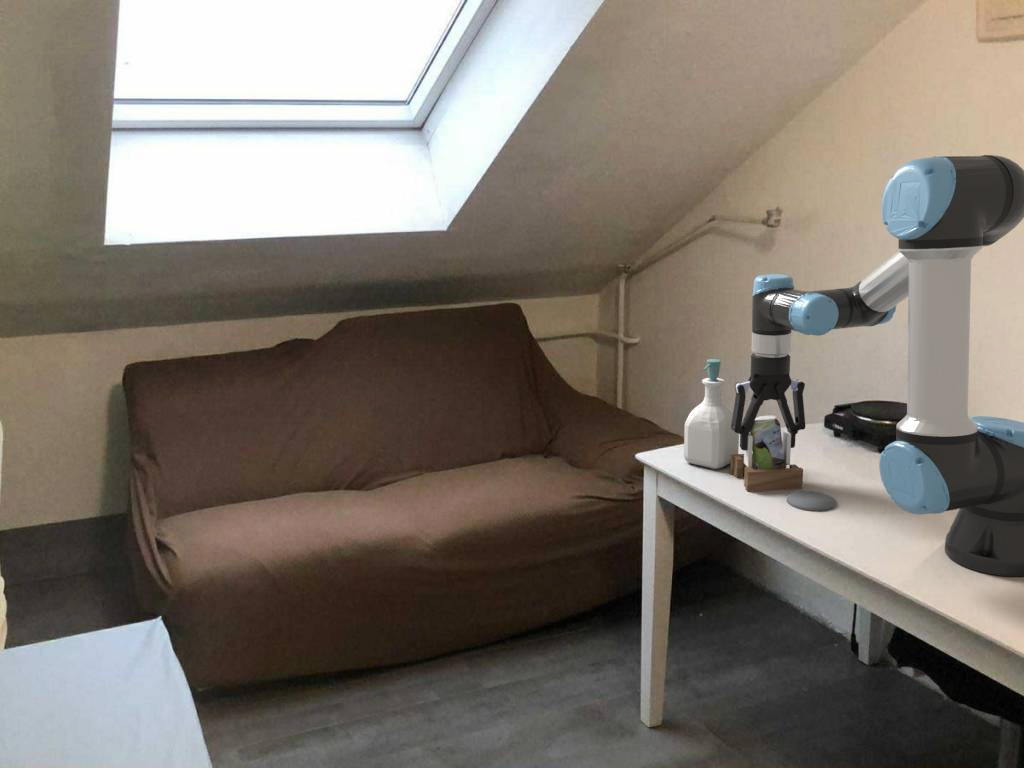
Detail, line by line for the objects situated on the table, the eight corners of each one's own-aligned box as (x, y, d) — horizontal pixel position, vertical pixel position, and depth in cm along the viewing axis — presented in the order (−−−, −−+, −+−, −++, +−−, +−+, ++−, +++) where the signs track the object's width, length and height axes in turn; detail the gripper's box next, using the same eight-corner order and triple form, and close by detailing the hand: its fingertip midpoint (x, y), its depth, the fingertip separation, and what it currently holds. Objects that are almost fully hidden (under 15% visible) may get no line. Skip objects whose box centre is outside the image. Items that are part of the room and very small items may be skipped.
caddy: (802, 488, 191) (803, 469, 190) (747, 491, 190) (747, 472, 189) (782, 470, 202) (783, 451, 201) (730, 472, 201) (730, 454, 200)
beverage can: (786, 479, 191) (788, 421, 189) (748, 478, 193) (750, 420, 190) (784, 469, 197) (786, 413, 195) (747, 468, 199) (749, 412, 196)
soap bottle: (679, 463, 207) (681, 360, 202) (703, 452, 214) (705, 352, 209) (719, 472, 201) (722, 367, 195) (742, 461, 208) (745, 358, 202)
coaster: (843, 509, 180) (843, 506, 179) (796, 512, 179) (797, 509, 179) (824, 492, 188) (824, 489, 188) (779, 495, 188) (780, 492, 187)
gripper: (812, 347, 194) (807, 455, 199) (715, 351, 192) (712, 460, 198) (827, 354, 186) (822, 467, 192) (726, 359, 185) (723, 472, 190)
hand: (766, 463), depth 195 cm, fingers closed on beverage can, 7 cm apart
